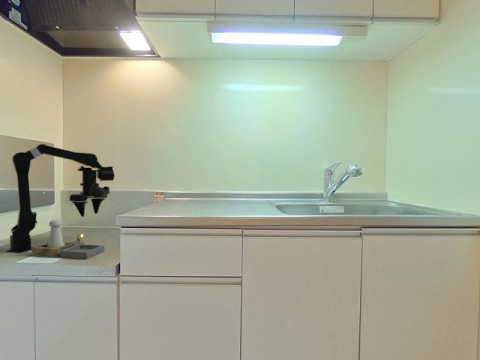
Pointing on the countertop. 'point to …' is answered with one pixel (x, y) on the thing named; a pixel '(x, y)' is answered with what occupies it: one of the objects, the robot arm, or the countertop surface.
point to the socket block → (50, 250)
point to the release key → (79, 238)
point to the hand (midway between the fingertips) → (89, 215)
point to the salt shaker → (55, 234)
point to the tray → (82, 251)
